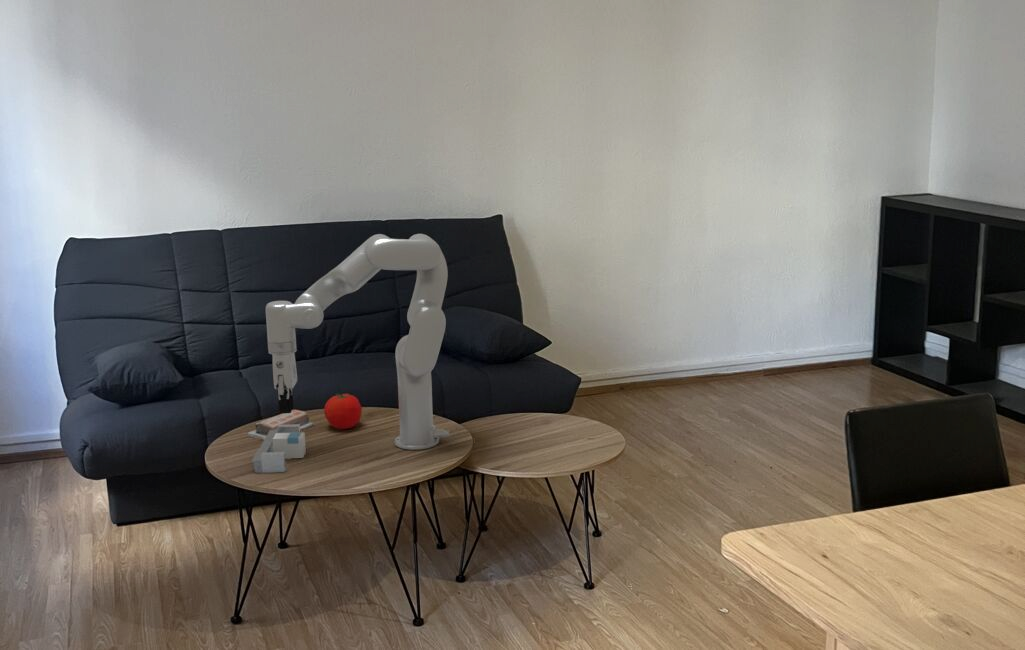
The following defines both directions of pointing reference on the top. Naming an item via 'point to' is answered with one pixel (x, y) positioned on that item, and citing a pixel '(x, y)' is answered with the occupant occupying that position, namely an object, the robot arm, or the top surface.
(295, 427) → the rail
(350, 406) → the tomato
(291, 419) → the packaged product
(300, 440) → the block
